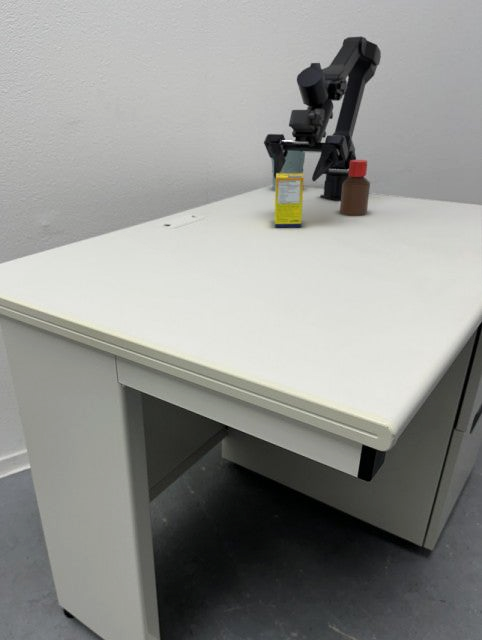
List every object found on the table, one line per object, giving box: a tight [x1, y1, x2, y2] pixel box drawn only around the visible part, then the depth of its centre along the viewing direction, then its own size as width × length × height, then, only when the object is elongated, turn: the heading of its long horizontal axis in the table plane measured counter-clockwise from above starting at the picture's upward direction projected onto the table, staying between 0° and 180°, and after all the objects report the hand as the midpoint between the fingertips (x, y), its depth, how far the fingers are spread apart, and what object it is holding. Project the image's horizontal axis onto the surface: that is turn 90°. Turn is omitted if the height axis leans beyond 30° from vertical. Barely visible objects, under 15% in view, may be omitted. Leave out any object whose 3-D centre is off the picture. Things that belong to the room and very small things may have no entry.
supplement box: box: [274, 173, 304, 228], centre depth 123 cm, size 6×6×11 cm
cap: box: [348, 159, 368, 177], centre depth 129 cm, size 4×4×3 cm
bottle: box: [339, 176, 371, 217], centre depth 131 cm, size 6×6×12 cm
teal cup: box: [270, 151, 306, 191], centre depth 161 cm, size 10×10×12 cm
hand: (293, 178), depth 122 cm, fingers open, 9 cm apart
